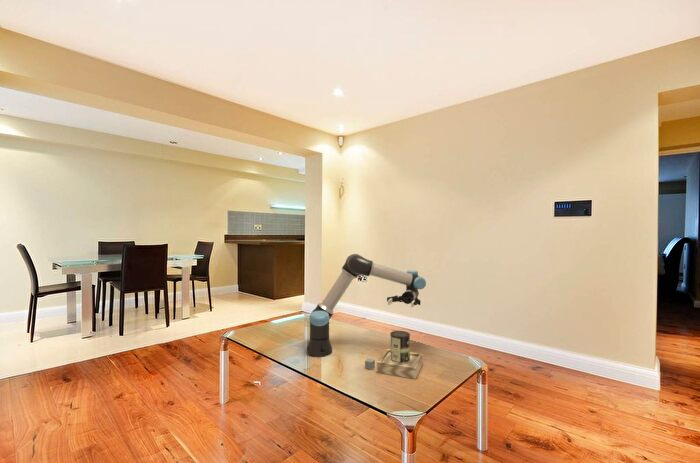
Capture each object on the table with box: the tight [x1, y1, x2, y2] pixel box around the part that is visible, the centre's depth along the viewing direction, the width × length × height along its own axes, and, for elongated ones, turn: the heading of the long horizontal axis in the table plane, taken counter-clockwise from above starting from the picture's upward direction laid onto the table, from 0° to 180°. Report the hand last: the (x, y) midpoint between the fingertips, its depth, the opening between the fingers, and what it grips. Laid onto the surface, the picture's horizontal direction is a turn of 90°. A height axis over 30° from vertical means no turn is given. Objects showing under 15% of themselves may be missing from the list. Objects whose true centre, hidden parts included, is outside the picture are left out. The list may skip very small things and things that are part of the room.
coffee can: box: [390, 330, 411, 364], centre depth 167 cm, size 10×10×14 cm
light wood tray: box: [376, 348, 423, 380], centre depth 167 cm, size 20×20×5 cm
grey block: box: [364, 357, 376, 370], centre depth 167 cm, size 4×4×4 cm
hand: (400, 303), depth 180 cm, fingers open, 13 cm apart
